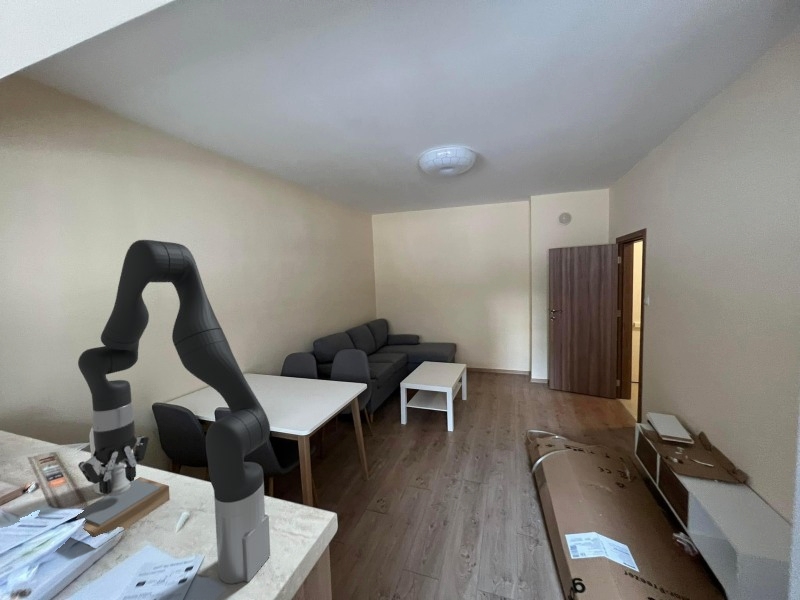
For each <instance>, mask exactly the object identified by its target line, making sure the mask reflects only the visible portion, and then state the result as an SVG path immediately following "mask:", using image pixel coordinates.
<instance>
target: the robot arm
mask: <svg viewBox="0 0 800 600" xmlns="http://www.w3.org/2000/svg"><path fill="white" fill-rule="evenodd" d="M149 283H171V284H172V285H173V286H174V288H175V291H176V294H177V297H178V300H179V307H178V312H177V315H176V318H175V321H174V325H173V328H172V336H171V337H172V338H171V339H172V343H173V346H174V347H175V351H176V352H177V355H178V357H179V360H180V362H181V363H182V366H183V367H184V369H186V371H188V372H189V373H190V374H191V375H192V376H193V377H195V378H196V379H198V380H200V381H201V382H203V383H204V384H206V385H208V386H210V387H211V388H213V389H214V390H215V391H216V392H217V393H218V394H219V395H220V396H221V398H223V400H224V401H225V404H226V405H227V406H228V408H229V410H230V414H227V415H226V416H223V417H221V418H220V419H218V420H216V421H214V422H213V423H211V424H210V425H209V427H208V429H207V431H206V435H205V449H206V450H205V451H206V458H207V467H208V476H209V477H208V478H209V480H210V483H211V486H212V488H213V496H214V497H213V498H214V515H215V516H214V517H215V531H216V532H215V534H216V535H215V537H216V538H215V539H216V552H217V554H216V555H217V565H218V566H217V568H218V569H217V570H218V571H217V572H218V577H219V579H220V580H221V581H222V582H223V583H226V584H232V585H233V584H238V583H242V582H246V583H249V582H250V581H251V580H252V579H253V578H254V576H255V575H256V574H257V573H258V572H257V571H260V569H261V568H262V567H263V566H264V565H265V563H266V562H267V561H266V560H269V558H270V557H271V539H270V538H271V537H270V536H271V535H270V517H269V515H268V514H266V511H265V510H266V508H265V507H266V506H265V484H264V483H265V481H264V479H265V478H264V470H263V467H262V465H260V464H259V463H257V462H253V461H245V460H244V459H245V457H246V456H248V455H250V454H251V453H252V452H254V451H255V450H257V448H259V447H261V446H262V445H264V443H265V442H267V441H268V439H269V437H270V434H271V425H270V421H269V418H268V416H267V414H266V411H265V410H264V408H263V406H262V405H261V402H260V401H259V400H258V398H257V396H256V395H255V393H254V391H253V390H252V388H251V386H250V385H249V383H248V381H247V380H246V377H245V376H244V373H243V371H242V370H241V368H240V366H239V364H238V362H237V359H236V358H235V356H234V354H233V350H232V349H231V346H230V344H229V341H228V339H227V336H226V334H225V333H224V331H223V328H222V327H221V324H220V322H219V320H218V318H217V316H216V314H215V311H214V310H213V306H212V304H211V303H210V300H209V298H208V295H207V293H206V289H205V286H204V283H203V280H202V278H201V274H200V271H199V268H198V265H197V262H196V259H195V258H194V255H193V254H192V251H190V249H189V248H188V247H187V246H186V245H184V244H181V243H177V242H170V241H161V240H153V239H152V240H151V239H138V240H136V241H134V242H132V244H130V246H129V248H128V249H127V251H126V253H125V256H124V260H123V263H122V268H121V272H120V277H119V281H118V287H117V292H116V295H115V296H116V297H115V301H114V305H113V309H112V312H111V313H110V316H109V317H108V319H107V322H106V324H105V326H104V328H103V330H102V332H101V335H100V342H101V343H102V345H103V346H98V347H93V348H88V349H86V350H84V351H83V352H82V353H81V354H80V355H79V358H78V361H77V365H78V369H79V370H80V373H81V374H82V376H83V378H84V380H85V382H86V384H87V386H88V388H89V392H90V394H91V400H92V418H91V419H92V421H91V422H92V424H91V425H92V426H91V428H93V434H94V446H95V452H94V454H93V457H92V458H91V457H90V458H89V459H87V460H85V461H84V460H83V461H80V462H79V463H78V465H77V466H78V468H79V470H80V471H81V473H82V474H83V476H84V477H85V479H86V481H87V482H89V483H92V484H93V483H95V484H96V483H98V482H99V490H100V492H101V493H103V495H105V496H107V495H108V494H109V493H111V480H110V479H109V478H110V474H111V471H112V470H113V468H114V464H115V463H117V462H118V461H120V460H124V461H125V462H126V463H125V464H126V465H127V466H126V467H125V475H126V478H127V479H128V480H129V481H130V482H131V481H134V480H135V478H136V476H137V468H136V467H137V464H138V463H139V462H142V461H143V460H144V459H145V456H146V451H147V447H148V443H149V440H150V438H149V437H148V436H145V435H144V436H143V435H140V436H139V437H136V436H135V434H136V428H135V413H134V412H135V411H134V408H133V407H134V406H133V403H132V402H133V401H132V389H131V384H130V382H129V381H128V380H125V379H118V380H117V379H116V380H108V378H107V375H110V374H114V373H117V372H122V371H126V370H129V369H131V368H132V367H133V366H134V365H136V363H137V362H138V360H139V348H140V347H139V346H140V340H141V338H142V336H143V334H144V332H145V330H146V328H147V326H148V324H149V321H150V314H149V310H148V307H147V306H146V303H145V301H144V299H143V292H144V290H145V289H146V287H147V286H148V284H149ZM134 448H135V450H134ZM132 449H133V450H134V452H133V453H132ZM96 460H98V461H100V465H99V474H98V475H97V473H96V471H95V470H94V467H95V462H96ZM269 556H270V557H269ZM268 557H269V558H268ZM265 561H266V562H265ZM261 566H262V567H261Z"/></svg>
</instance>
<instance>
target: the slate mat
mask: <svg viewBox="0 0 800 600" xmlns="http://www.w3.org/2000/svg"><path fill="white" fill-rule="evenodd" d="M137 479H138V478H136V479H134V480H135V481H134V480H133V482H131V483H129V484H130V485H131V486H130V487H129V489H128V490H127V491H126V492H124V493H122V494H120V495H118V496H109V495H105V496H106V497H105V496H104V498H103V497H101V498H100V499H98V500H96V501H97V502H96V501H94V502H95V503H94V502H93V503H91V504H89V505H87V506H88V507H87V506H85V507H86V508H85V507H83V508H84V509H83V508H82V509H81V510H84V511H83V512H82V513H80V514H78V515H77V517H79V518H85V519H87V521H88V522H91V523H93V524H96V525H98V526H101V525H103V524H105V523H106V522H108V521H109V520H111V519H113V518H114V517H116V516H117V515H119V514H121V513H122V512H124V511H125V510H127V509H129V508H130V507H132V506H134V505H135V504H137V503H138V502H140V501H142V500H143V499H145V498H146V497H148V496H150V495H151V494H153V493H154V492H156V491H158V490H159V489H161V487H159V486H156V485H153V484H149V483H146V482H143V481H140V480H137Z"/></svg>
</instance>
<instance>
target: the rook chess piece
mask: <svg viewBox="0 0 800 600" xmlns="http://www.w3.org/2000/svg"><path fill="white" fill-rule="evenodd" d="M125 463H126V462H125V461H124V460H120V461H118V462H117V463H115V464H114V468H113V470H112V471H111V493H109V494H108V495H109V496H118V495H120V494H122V493H124V492H126V491H127V490H128V489H129V487H130V486H131V485H130V484H129V483H130V481H129V480H128V479H127V478H126V477H125V473H124V469H125V468H124V465H125Z"/></svg>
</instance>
